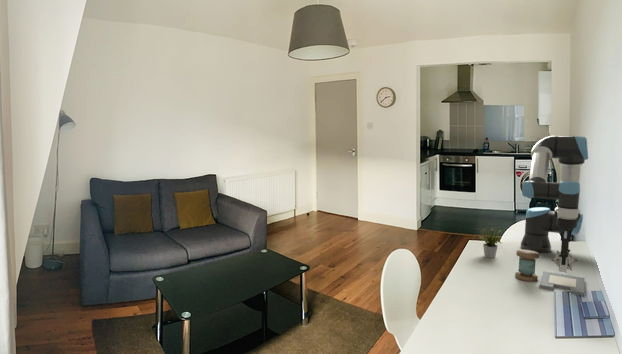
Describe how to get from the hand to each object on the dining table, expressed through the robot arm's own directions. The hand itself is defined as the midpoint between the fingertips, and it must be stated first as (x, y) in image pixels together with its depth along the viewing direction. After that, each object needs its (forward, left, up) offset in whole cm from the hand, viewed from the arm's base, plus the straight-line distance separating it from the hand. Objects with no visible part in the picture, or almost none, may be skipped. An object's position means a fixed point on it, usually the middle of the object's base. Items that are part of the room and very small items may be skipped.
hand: (563, 268), depth 178 cm
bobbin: (0, -14, -7) cm, 16 cm away
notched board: (0, 0, -7) cm, 7 cm away
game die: (0, 0, 0) cm, 0 cm away
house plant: (-24, -35, -7) cm, 43 cm away
